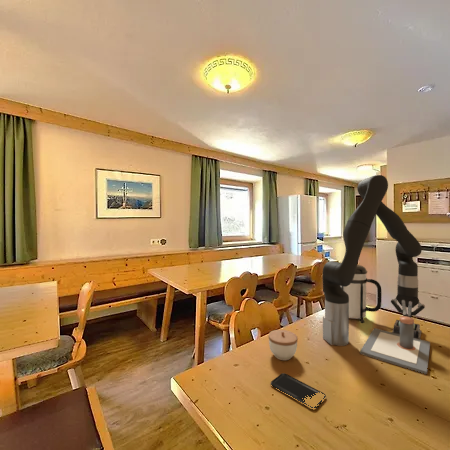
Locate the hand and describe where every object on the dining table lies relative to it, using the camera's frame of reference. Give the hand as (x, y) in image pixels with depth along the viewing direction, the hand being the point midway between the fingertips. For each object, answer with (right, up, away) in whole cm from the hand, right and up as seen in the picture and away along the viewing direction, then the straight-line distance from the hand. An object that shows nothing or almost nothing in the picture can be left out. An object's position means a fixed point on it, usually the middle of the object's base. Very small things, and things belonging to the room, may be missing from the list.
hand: (406, 322), depth 114 cm
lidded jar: (-60, -6, -18) cm, 63 cm away
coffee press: (-15, -4, +17) cm, 23 cm away
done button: (0, -3, 0) cm, 3 cm away
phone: (-60, -7, -37) cm, 71 cm away
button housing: (0, -4, 0) cm, 4 cm away
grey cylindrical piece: (-10, -4, -14) cm, 18 cm away
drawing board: (-14, -5, -14) cm, 20 cm away
